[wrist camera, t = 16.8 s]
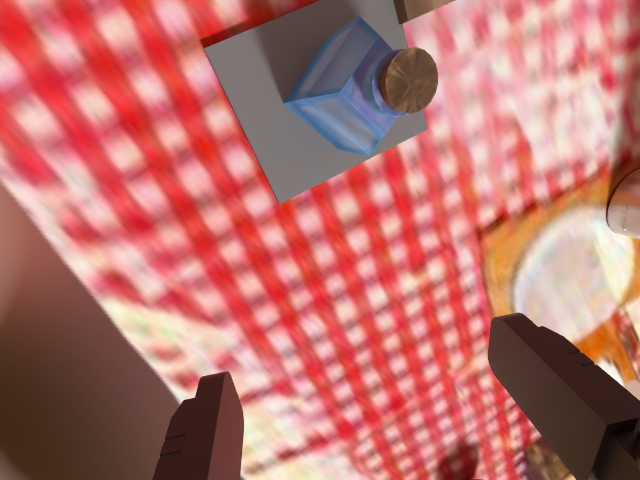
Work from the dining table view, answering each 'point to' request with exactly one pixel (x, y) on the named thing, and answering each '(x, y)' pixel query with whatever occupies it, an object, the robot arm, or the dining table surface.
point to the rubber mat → (281, 77)
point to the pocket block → (416, 8)
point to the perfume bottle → (361, 87)
